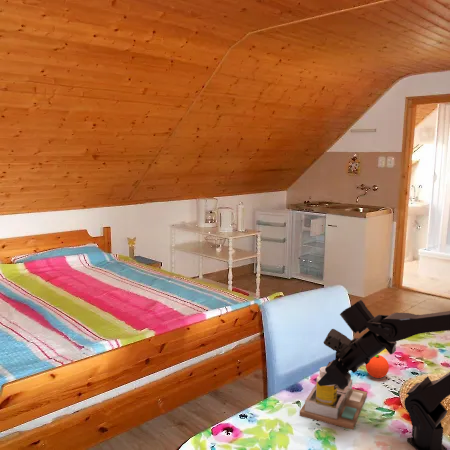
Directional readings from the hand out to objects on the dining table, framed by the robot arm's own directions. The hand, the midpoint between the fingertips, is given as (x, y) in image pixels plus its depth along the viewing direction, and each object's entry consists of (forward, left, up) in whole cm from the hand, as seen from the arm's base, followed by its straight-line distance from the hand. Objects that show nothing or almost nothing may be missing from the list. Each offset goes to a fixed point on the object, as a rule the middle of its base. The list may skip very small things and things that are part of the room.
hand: (321, 379), depth 127 cm
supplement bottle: (-1, -1, -7) cm, 7 cm away
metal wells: (+2, -4, -8) cm, 9 cm away
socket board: (+1, -5, -9) cm, 10 cm away
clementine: (+13, -26, -9) cm, 31 cm away
